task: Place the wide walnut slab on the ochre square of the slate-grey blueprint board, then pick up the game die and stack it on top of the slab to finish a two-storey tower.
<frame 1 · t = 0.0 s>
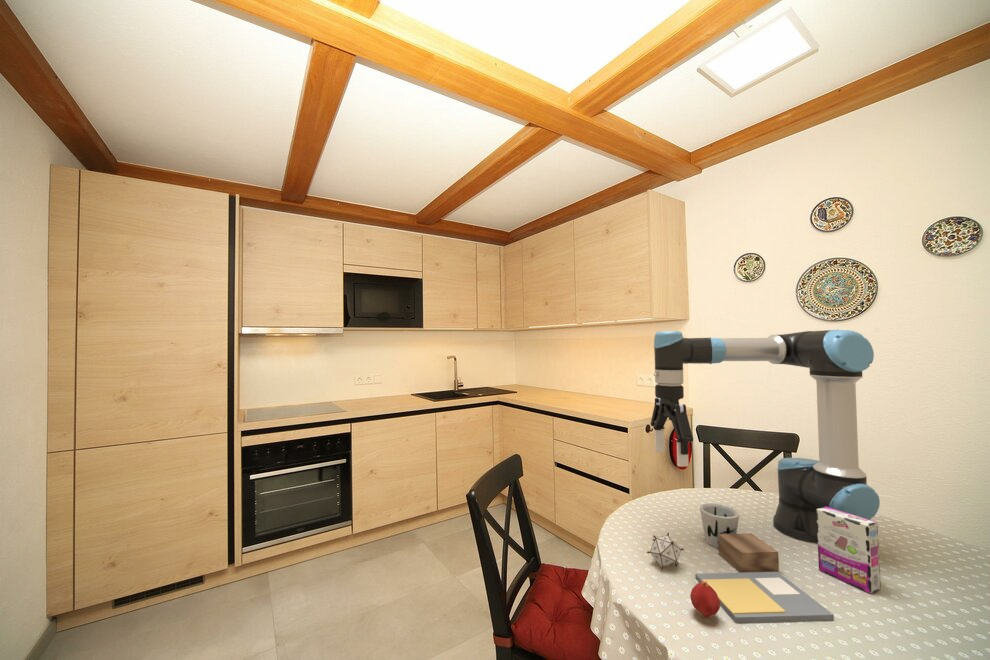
hand: (670, 458, 111), 28 cm above the table, fingers open, 13 cm apart
game die: (665, 566, 106), on the table
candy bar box: (848, 580, 99), on the table
red oval piece: (705, 617, 86), on the table
blueprint board: (758, 597, 92), on the table
mug: (718, 540, 119), on the table
walnut slab: (747, 564, 106), on the table
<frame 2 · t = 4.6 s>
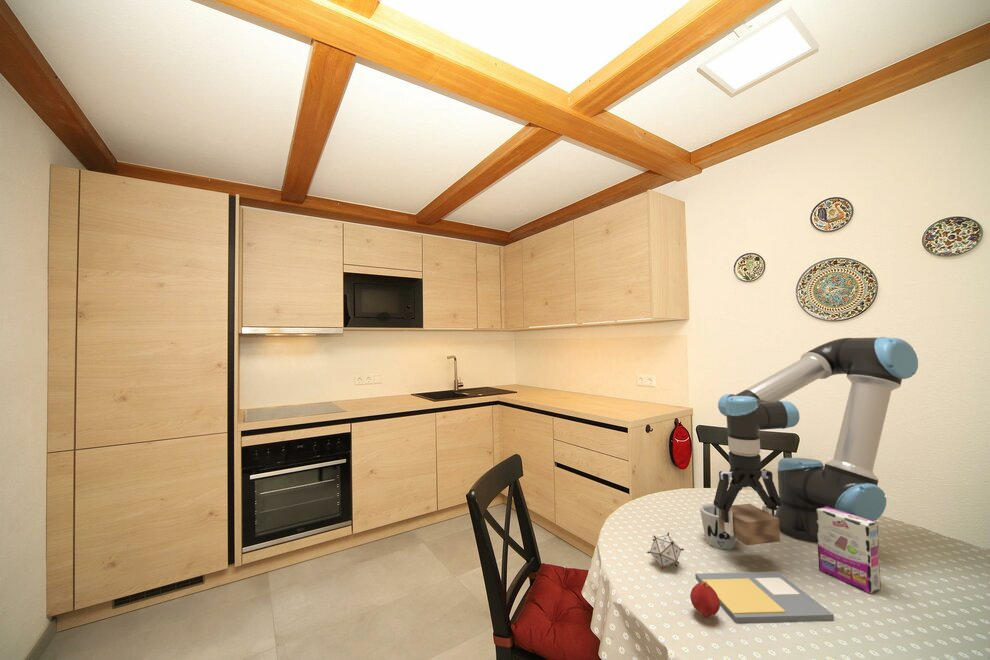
hand: (748, 532, 107), 8 cm above the table, fingers closed on walnut slab, 10 cm apart
walnut slab: (748, 534, 107), point 8 cm above the table, touching gripper
everything else where it was.
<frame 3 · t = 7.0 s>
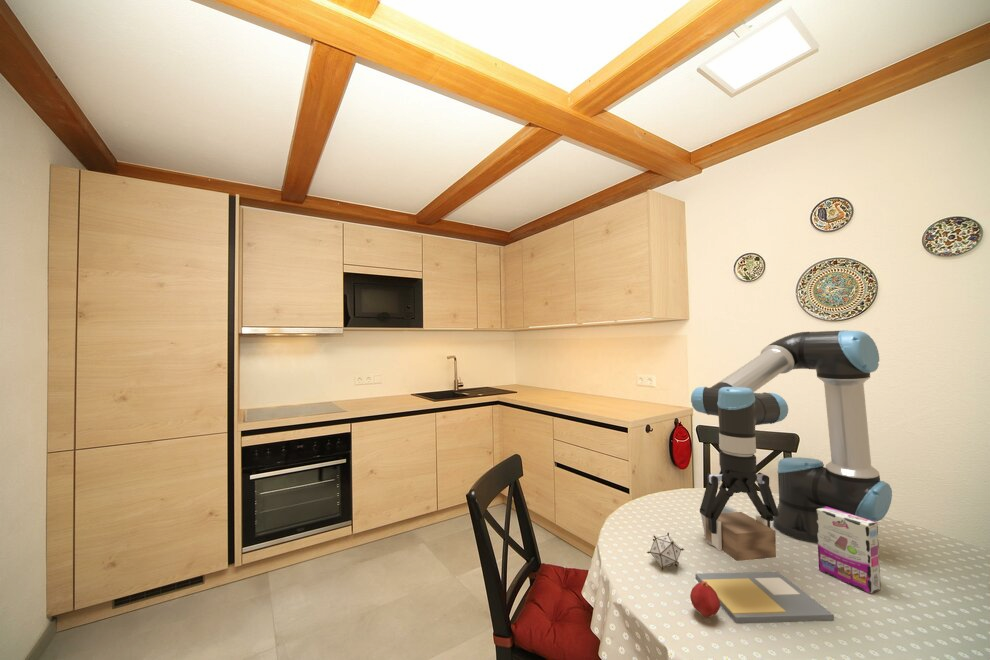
hand: (739, 546, 92), 13 cm above the table, fingers closed on walnut slab, 10 cm apart
walnut slab: (739, 547, 92), point 12 cm above the table, touching gripper
everything else where it was.
when the fingers open (2 cm above the table, at t = 9.4 s): walnut slab stays where it is, resting on blueprint board.
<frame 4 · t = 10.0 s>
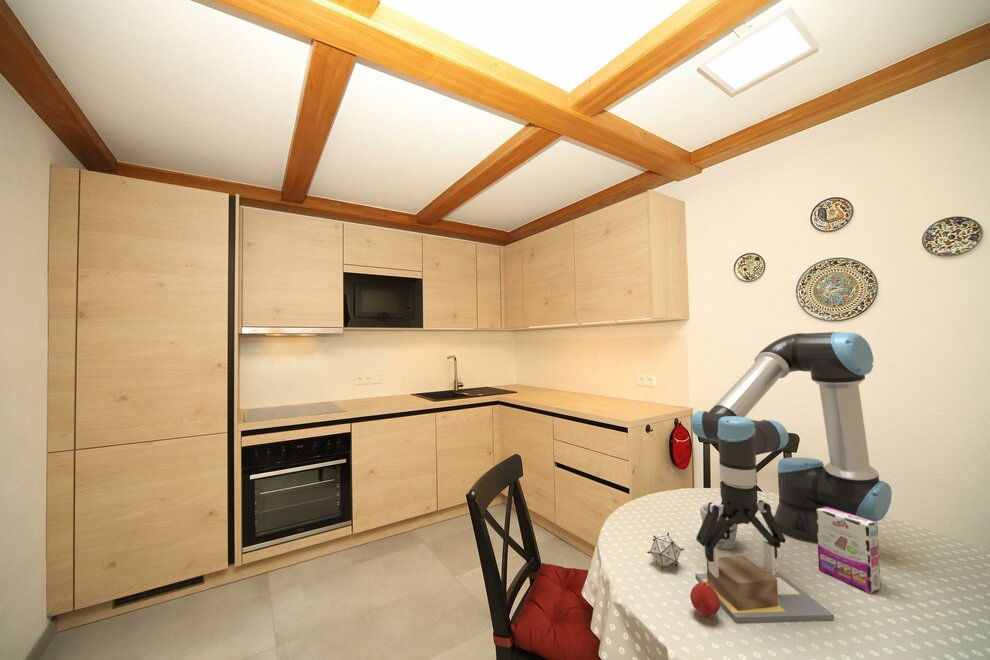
hand: (741, 573, 92), 6 cm above the table, fingers open, 13 cm apart
walnut slab: (740, 594, 91), point 1 cm above the table, touching blueprint board
everything else where it was.
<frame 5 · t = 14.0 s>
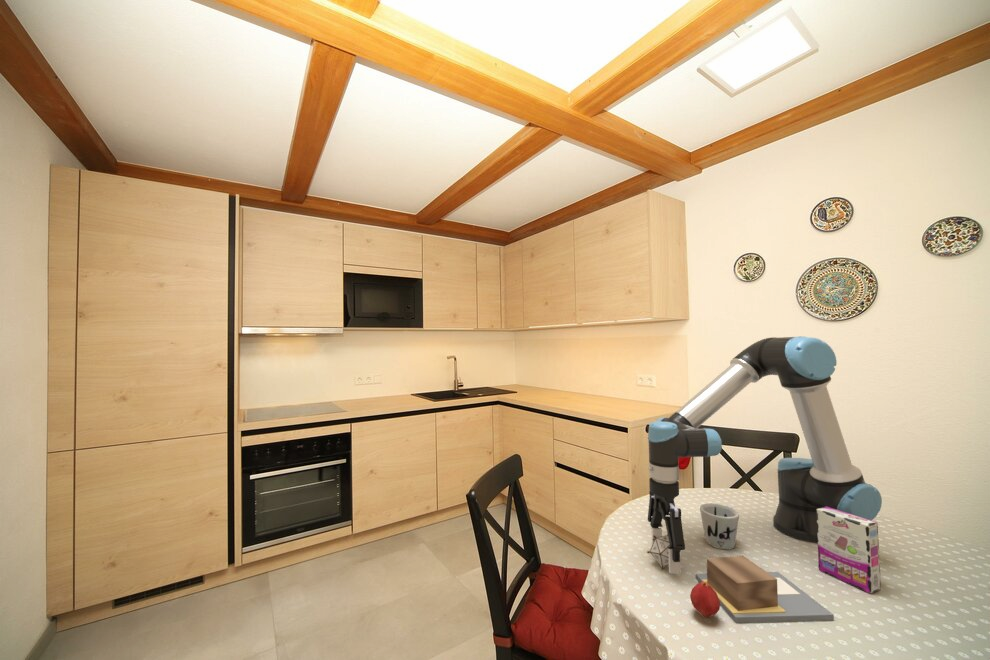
hand: (665, 561, 106), 1 cm above the table, fingers closed on game die, 9 cm apart
game die: (665, 566, 106), on the table, touching gripper
everything else where it was.
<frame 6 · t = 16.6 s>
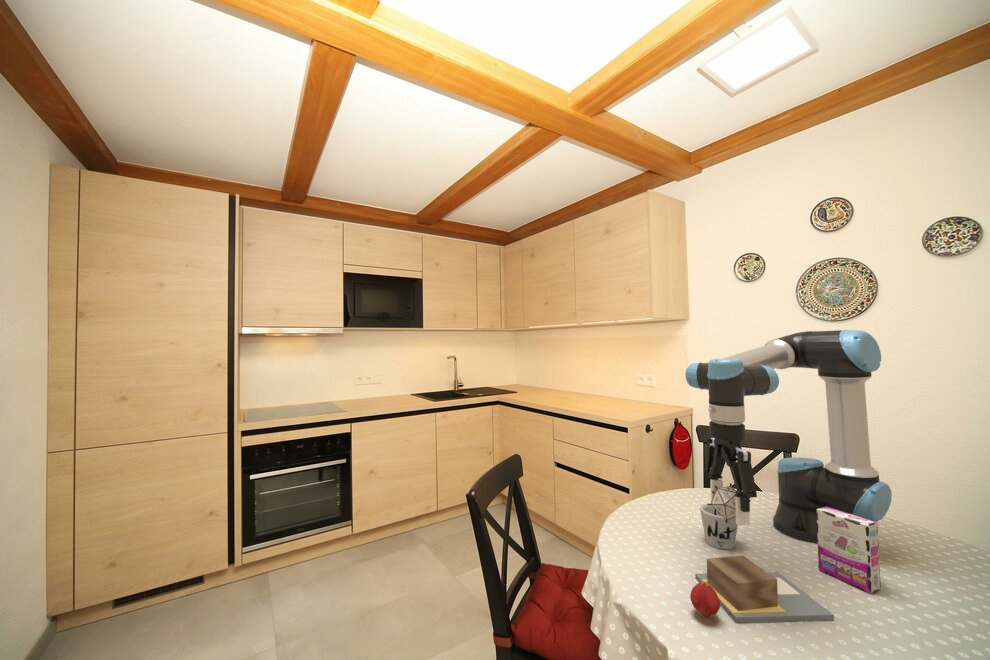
hand: (729, 514, 93), 19 cm above the table, fingers closed on game die, 9 cm apart
game die: (729, 520, 93), point 18 cm above the table, touching gripper
everything else where it was.
when the fingers open (9 cm above the table, at t = 19.2 s): game die stays where it is, resting on walnut slab.
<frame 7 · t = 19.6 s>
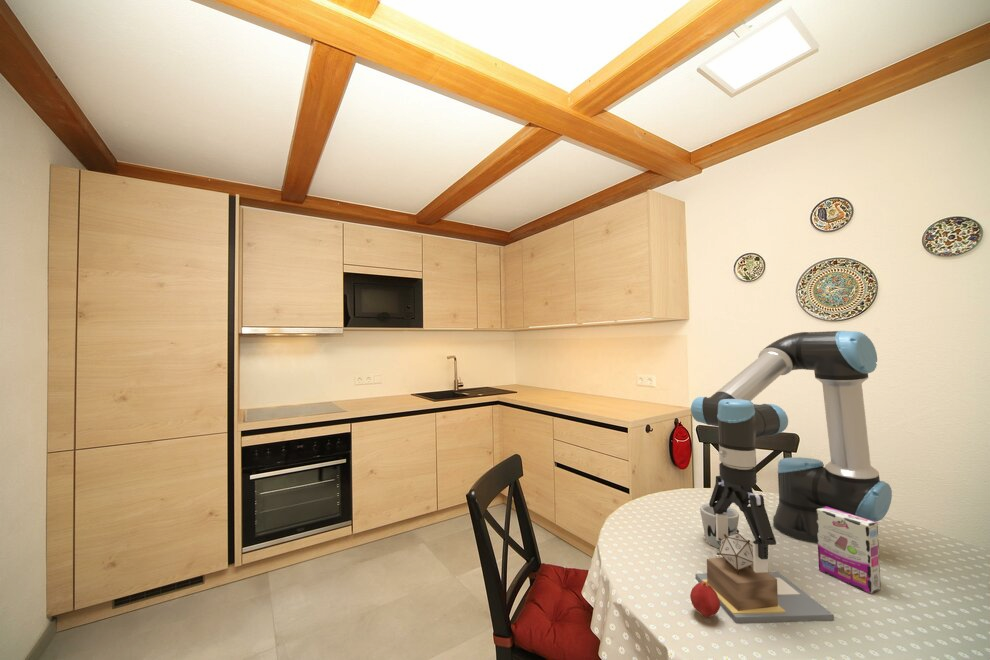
hand: (740, 554, 92), 11 cm above the table, fingers open, 13 cm apart
game die: (738, 569, 92), point 7 cm above the table, touching walnut slab
walnut slab: (740, 594, 91), point 1 cm above the table, touching blueprint board, game die
everything else where it was.
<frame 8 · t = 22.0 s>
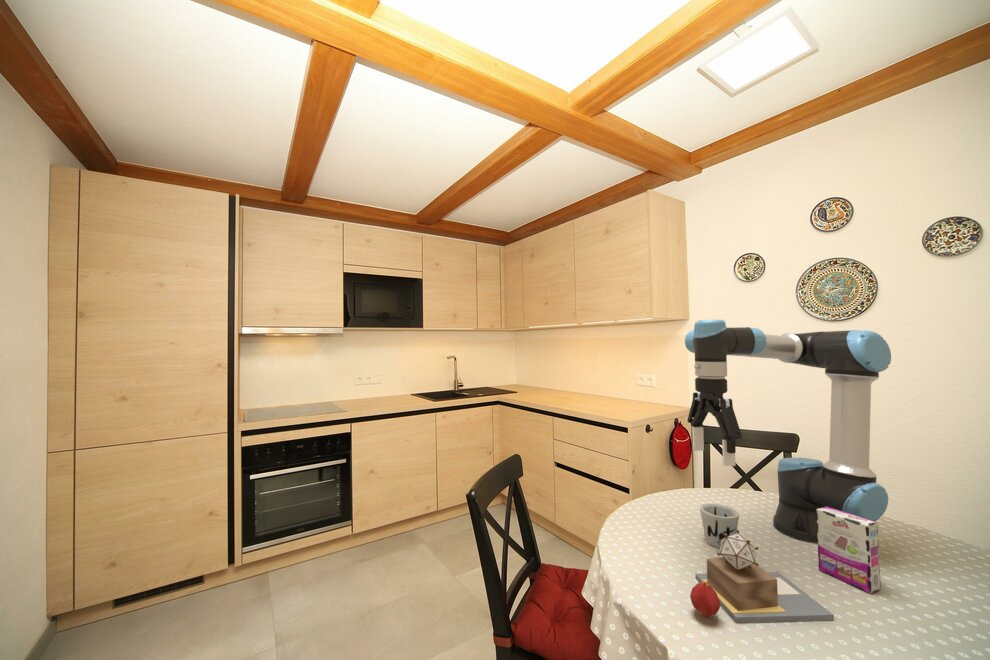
hand: (712, 457, 102), 31 cm above the table, fingers open, 13 cm apart
nothing on the table moved.
at the end: walnut slab inside the target area (0.1 cm from its centre), point 1.5 cm above the table; game die inside the target area on the walnut slab (0.5 cm from its centre), point 5.8 cm above the walnut slab's base; game die point 7.3 cm above the table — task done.
